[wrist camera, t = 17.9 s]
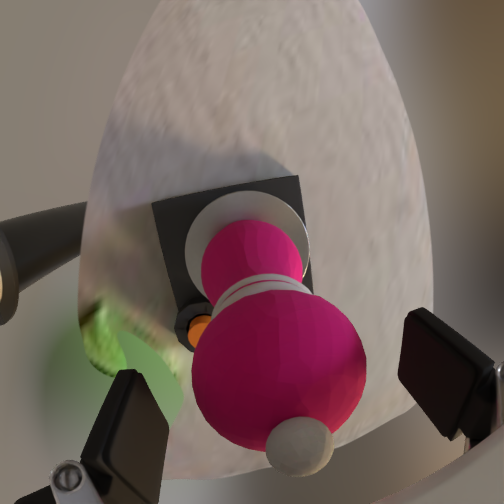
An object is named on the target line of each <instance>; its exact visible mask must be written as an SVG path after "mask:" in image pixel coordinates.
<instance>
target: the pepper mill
mask: <svg viewBox="0 0 504 504" xmlns="http://www.w3.org/2000/svg"><path fill="white" fill-rule="evenodd" d="M302 274H303V270H302V261H301V257H300V254H299V252H298V249H297V248H296V246H295V245H294V243H293V242H292V240H291V239H290V238H289V236H288V235H287V234H286V233H284V232H283V231H282V230H281V229H279V228H278V227H276V226H274V225H272V224H269V223H267V222H262V221H256V220H240V221H236V222H233V223H231V224H229V225H227V226H226V227H225V228H223V229H222V230H221V231H220V232H218V233H217V234H216V235H215V236H214V237H213V238H212V240H211V241H210V242H209V244H208V246H207V247H206V249H205V252H204V254H203V257H202V263H201V280H202V285H203V289H204V292H205V293H206V295H207V297H208V299H209V301H210V303H211V304H212V305H213V307H214V309H213V312H212V316H211V322H210V323H209V324H208V325H207V327H206V328H205V330H204V331H203V333H202V335H201V336H200V338H199V341H198V343H197V346H196V348H195V351H194V357H193V363H192V370H191V371H192V387H193V391H194V395H195V398H196V402H197V405H198V407H199V409H200V410H201V412H202V414H203V416H204V418H205V419H206V421H207V422H208V423H209V424H210V425H211V426H212V427H213V428H214V429H215V430H216V431H217V432H218V433H219V434H220V435H221V436H223V437H224V438H226V439H227V440H229V441H231V442H232V443H234V444H237V445H239V446H242V447H245V448H247V449H251V450H257V451H263V452H266V456H267V458H268V460H269V463H270V464H271V465H272V466H273V467H274V468H275V469H276V470H277V471H278V472H280V473H282V474H285V475H287V476H290V477H292V476H293V477H304V476H307V475H311V474H314V473H316V472H317V471H319V470H320V469H322V468H323V467H324V466H325V465H326V464H327V463H328V461H329V460H330V458H331V456H332V453H333V450H334V441H333V436H332V433H334V432H335V431H336V430H338V429H339V428H340V426H341V425H342V424H343V423H344V422H345V421H346V420H347V419H348V418H349V417H350V415H351V414H352V412H353V411H354V409H355V408H356V406H357V404H358V402H359V401H360V399H361V397H362V393H363V390H364V386H365V383H366V355H365V352H364V349H363V345H362V342H361V340H360V338H359V336H358V334H357V332H356V330H355V328H354V326H353V325H352V323H351V322H350V321H349V319H348V318H347V317H346V316H345V315H344V314H343V313H342V312H341V311H340V310H339V309H338V308H336V307H335V306H334V305H333V304H331V303H329V302H328V301H326V300H325V299H323V298H321V297H320V296H316V295H313V294H312V293H311V292H310V291H309V289H308V288H306V287H305V286H304V285H303V284H301V283H302Z"/></svg>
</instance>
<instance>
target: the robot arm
mask: <svg viewBox="0 0 504 504" xmlns="http://www.w3.org/2000/svg"><path fill="white" fill-rule="evenodd" d="M1 298H2V277H1V271H0V301H1ZM494 363H495V362H494V361H493V360H492V359H491V358H489V357H488V356H487V355H486V354H484V353H483V352H482V351H481V350H479V349H478V348H477V347H476V346H474V345H473V344H472V343H470V342H469V341H468V340H467V339H465V338H464V337H463V336H462V335H460V334H459V333H458V332H456V331H455V330H454V329H452V328H451V327H450V326H448V325H447V324H446V323H444V322H443V321H442V320H440V319H439V318H437V317H436V316H435V315H434V314H432V313H431V312H430V311H428V310H427V309H425V308H423V307H421V308H418V309H415V310H413V311H410V312H409V313H408V315H407V317H406V318H405V320H404V329H403V338H402V346H401V354H400V361H399V367H398V378H399V380H400V382H401V383H402V384H403V386H404V387H405V388H406V389H407V391H408V392H409V393H410V394H411V396H412V397H413V398H414V400H415V401H416V402H417V403H418V405H419V406H420V407H421V408H422V410H423V411H424V412H425V414H426V415H427V416H428V417H429V419H430V420H431V421H432V423H433V424H434V425H435V426H436V428H437V429H438V431H439V432H440V433H441V435H442V436H444V437H448V439H449V440H450V441H452V440H454V439H456V438H457V437H458V436H460V435H462V433H463V434H464V435H465V436H466V439H465V447H464V454H463V455H462V456H460V457H459V458H457V459H456V460H454V461H453V462H451V463H450V464H448V465H446V466H445V467H443V468H442V469H440V470H438V471H436V472H435V473H433V474H431V475H429V476H428V477H426V478H424V479H422V480H420V481H419V482H416V483H415V484H413V485H411V486H409V487H407V488H405V489H402V490H400V491H398V492H396V493H394V494H391V495H389V496H387V497H385V498H382V499H380V500H377V501H375V502H373V503H370V504H504V362H501V363H500V364H499V365H498V366H497V368H496V370H495V369H494V368H493V366H494ZM168 435H169V425H168V422H167V420H166V419H165V417H164V415H163V413H162V412H161V410H160V408H159V406H158V404H157V402H156V400H155V398H154V397H153V395H152V393H151V391H150V389H149V387H148V385H147V383H146V381H145V379H144V377H143V375H142V374H141V373H138V372H137V371H136V370H135V369H126V370H119V371H118V373H117V375H116V377H115V379H114V381H113V383H112V385H111V388H110V390H109V392H108V394H107V396H106V398H105V401H104V403H103V405H102V407H101V409H100V411H99V414H98V416H97V418H96V421H95V423H94V425H93V428H92V430H91V432H90V434H89V437H88V439H87V442H86V444H85V446H84V449H83V451H82V454H81V456H80V457H81V461H80V463H79V462H77V461H74V460H66V461H62V462H60V463H58V464H57V465H56V466H55V467H54V468H53V469H52V471H51V473H50V477H49V482H50V485H49V486H47V487H44V488H42V489H40V490H38V491H36V492H33V493H31V494H29V495H27V496H24V497H22V498H20V499H18V500H17V501H16V502H15V503H14V504H158V502H159V494H160V487H161V480H162V473H163V466H164V460H165V453H166V447H167V441H168Z"/></svg>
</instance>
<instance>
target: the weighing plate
mask: <svg viewBox="0 0 504 504" xmlns="http://www.w3.org/2000/svg"><path fill="white" fill-rule="evenodd" d="M240 220H256V221H262V222H267V223H269V224H272V225H274V226H276V227H278V228H279V229H281V230H282V231H283V232H284V233H286V234H287V235H288V236H289V238H290V239H291V240H292V242H293V243H294V245H295V246H296V248H297V249H298V252H299V254H300V257H301V261H302V270H303V274H302V278H303V276H304V274H305V272H306V269H307V266H308V261H309V253H310V248H309V239H308V235H307V232H306V229H305V226H304V224H303V222H302V220H301V219H300V217H299V216H298V215H297V213H296V212H295V211H294V210H293V209H292V208H291V207H290V206H289V205H288V204H286V203H285V202H284V201H282V200H280V199H279V198H277V197H275V196H272V195H270V194H267V193H263V192H259V191H246V190H245V191H236V192H232V193H228V194H226V195H223V196H221V197H219V198H217V199H215V200H214V201H212V202H211V203H210V204H208V205H207V206H206V207H205V208H204V209H203V210H202V211H201V212H200V213H199V214H198V216H197V217H196V218H195V220H194V222H193V223H192V225H191V227H190V230H189V232H188V235H187V239H186V244H185V260H186V266H187V269H188V273H189V275H190V277H191V279H192V281H193V283H194V284H195V286H196V287H197V289H198V290H199V291H200V292H201V293H202V294H203V295H204V296H205V297H206V298H207V299H208V297H207V295H206V293H205V292H204V289H203V285H202V280H201V263H202V257H203V254H204V252H205V249H206V247H207V246H208V244H209V242H210V241H211V240H212V238H213V237H214V236H215V235H216V234H217V233H218V232H220V231H221V230H222V229H223V228H225V227H226V226H227V225H229V224H231V223H233V222H236V221H240Z"/></svg>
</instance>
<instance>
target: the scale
mask: <svg viewBox="0 0 504 504" xmlns="http://www.w3.org/2000/svg"><path fill="white" fill-rule="evenodd" d="M245 190H246V191H259V192H263V193H267V194H270V195H272V196H275V197H277V198H279V199H280V200H282V201H284V202H285V203H286V204H288V205H289V206H290V207H291V208H292V209H293V210H294V211H295V212H296V213H297V215H298V216H299V217H300V219H301V220H302V222H303V224H304V226H305V229H306V223H305V216H304V209H303V202H302V195H301V189H300V182H299V176H298V175H295V176H288V177H281V178H275V179H268V180H262V181H256V182H250V183H245V184H239V185H234V186H228V187H223V188H218V189H213V190H208V191H203V192H198V193H193V194H188V195H184V196H179V197H175V198H170V199H166V200H162V201H157V202H154V203H152V208H153V213H154V217H155V222H156V226H157V231H158V235H159V239H160V244H161V248H162V252H163V256H164V260H165V264H166V267H167V271H168V275H169V279H170V282H171V286H172V289H173V293H174V296H175V300H176V303H177V307H178V310H179V312H178V315H177V319H176V322H175V326H174V329H175V332H176V335H177V338H178V341H179V342H180V343H181V344H182V345H184V346H185V347H186V348H187V349H188V350H189V351H190V352H194V351H195V348H194V347H193V346H192V345H191V344H190V342H189V340H188V331H189V327H190V323H191V322H192V320H193V319H194V318H196V317H197V316H200V315H209V316H212V312H213V309H214V307H213V305H212V304H211V303H210V301H209V299H207V298H206V297H205V296H204V295H203V294H202V293H201V292H200V291H199V290H198V289H197V287H196V286H195V284H194V283H193V281H192V279H191V277H190V275H189V273H188V269H187V266H186V260H185V244H186V239H187V235H188V232H189V230H190V227H191V225H192V223H193V222H194V220H195V218H196V217H197V216H198V214H199V213H200V212H201V211H202V210H203V209H204V208H205V207H206V206H207V205H208V204H210V203H211V202H212V201H214V200H215V199H217V198H219V197H221V196H223V195H226V194H228V193H232V192H236V191H245ZM306 232H307V231H306ZM301 284H303V285H304V286H305V287H306V288H308V289H309V291H310V292H311V293H312V294H313V295H314V293H313V283H312V273H311V264H310V255H309V261H308V266H307V269H306V272H305V274H304V276H303V278H302V283H301Z"/></svg>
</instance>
